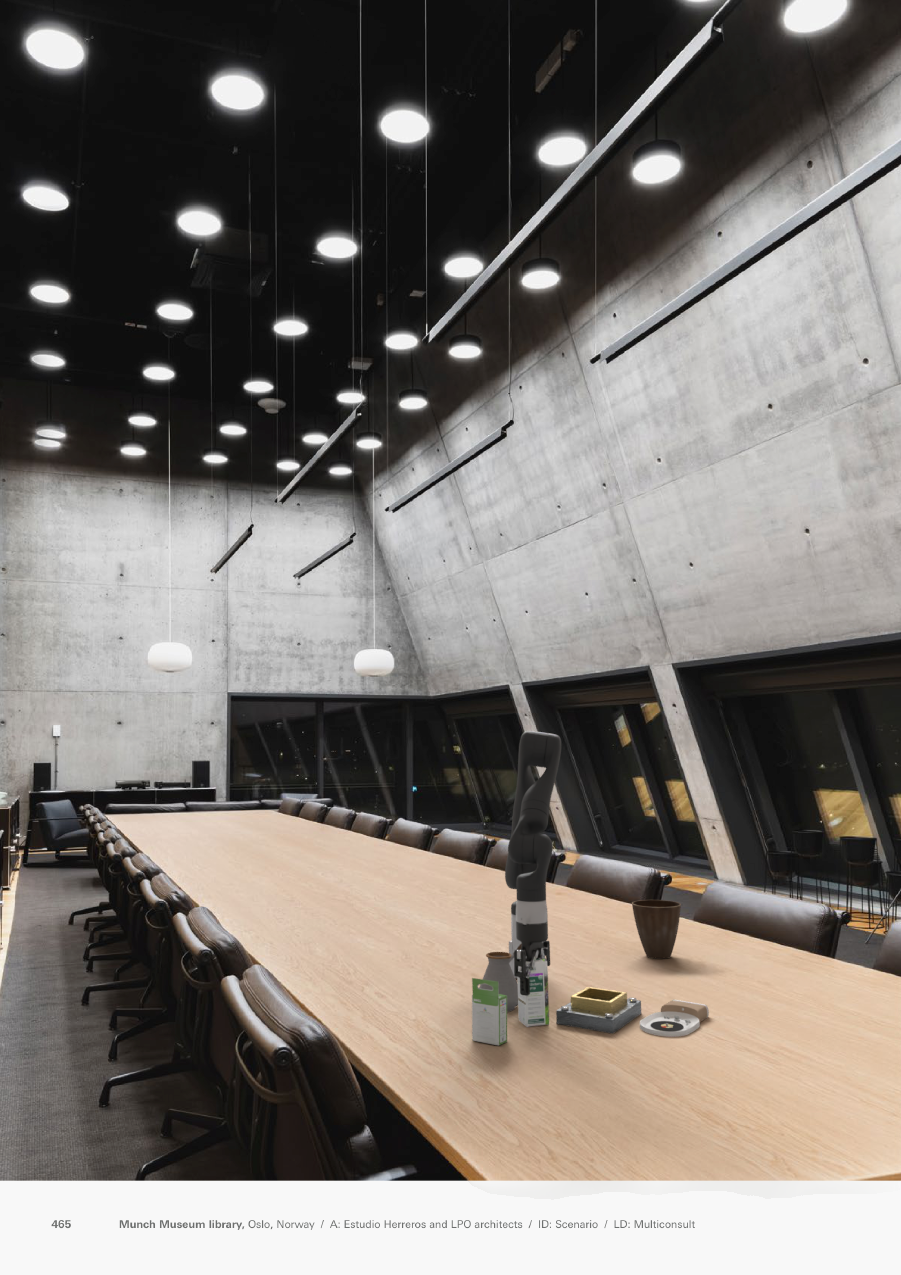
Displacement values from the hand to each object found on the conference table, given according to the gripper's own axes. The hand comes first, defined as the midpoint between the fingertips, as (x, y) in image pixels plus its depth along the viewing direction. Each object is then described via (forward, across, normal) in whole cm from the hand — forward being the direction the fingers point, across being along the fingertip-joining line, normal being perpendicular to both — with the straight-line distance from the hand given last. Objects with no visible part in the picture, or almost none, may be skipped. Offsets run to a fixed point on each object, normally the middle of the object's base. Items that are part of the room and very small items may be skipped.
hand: (533, 991), depth 206 cm
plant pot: (+7, -81, +2) cm, 81 cm away
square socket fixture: (+7, -11, +12) cm, 18 cm away
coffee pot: (+7, -11, -12) cm, 18 cm away
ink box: (+7, +17, -2) cm, 19 cm away
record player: (+8, -16, +28) cm, 33 cm away
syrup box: (+7, 0, 0) cm, 7 cm away
